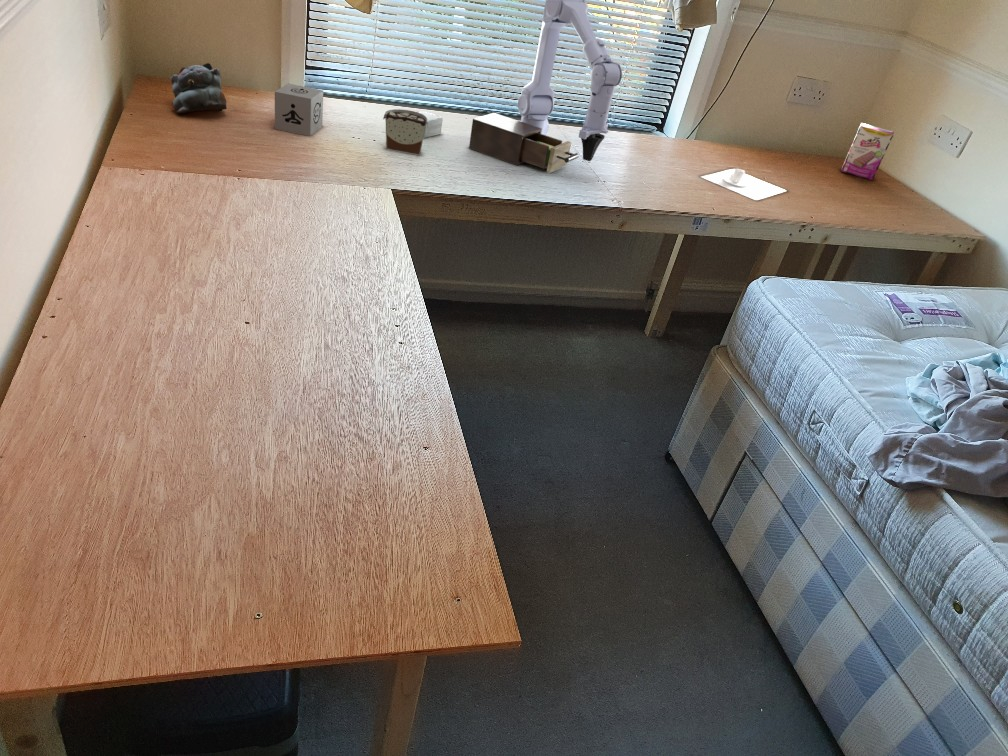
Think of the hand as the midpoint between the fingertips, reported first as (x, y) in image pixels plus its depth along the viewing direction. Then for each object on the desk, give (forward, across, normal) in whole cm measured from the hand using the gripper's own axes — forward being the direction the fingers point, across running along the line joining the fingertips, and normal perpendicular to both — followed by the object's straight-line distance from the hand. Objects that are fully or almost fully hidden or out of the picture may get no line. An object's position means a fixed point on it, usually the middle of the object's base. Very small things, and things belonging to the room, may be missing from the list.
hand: (587, 159), depth 211 cm
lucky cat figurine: (+6, -49, +97) cm, 109 cm away
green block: (+4, 0, +14) cm, 14 cm away
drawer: (+5, 0, +14) cm, 15 cm away
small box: (+6, -6, +51) cm, 52 cm away
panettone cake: (+6, -23, +45) cm, 51 cm away
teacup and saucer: (+6, +45, -35) cm, 57 cm away
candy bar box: (+6, +97, -62) cm, 115 cm away
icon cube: (+6, -35, +73) cm, 81 cm away
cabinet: (+6, 0, +26) cm, 27 cm away
